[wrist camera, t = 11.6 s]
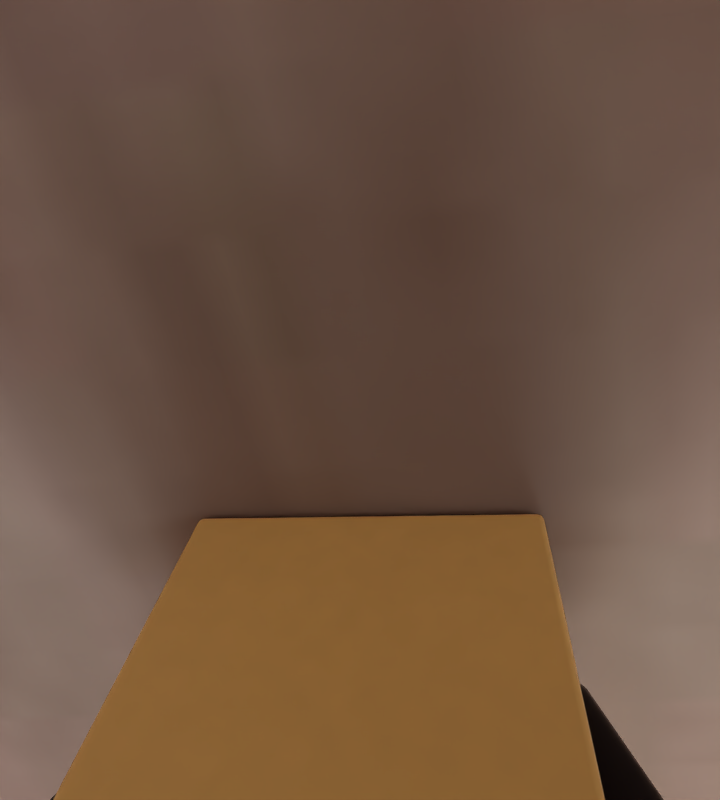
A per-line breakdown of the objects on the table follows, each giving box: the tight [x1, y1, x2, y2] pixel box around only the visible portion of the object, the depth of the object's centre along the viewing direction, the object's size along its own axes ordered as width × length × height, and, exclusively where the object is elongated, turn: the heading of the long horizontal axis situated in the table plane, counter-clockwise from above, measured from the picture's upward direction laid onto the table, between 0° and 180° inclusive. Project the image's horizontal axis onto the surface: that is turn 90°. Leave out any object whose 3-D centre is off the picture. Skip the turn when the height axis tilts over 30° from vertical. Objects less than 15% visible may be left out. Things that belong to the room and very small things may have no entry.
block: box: [53, 514, 605, 800], centre depth 7 cm, size 4×4×4 cm
